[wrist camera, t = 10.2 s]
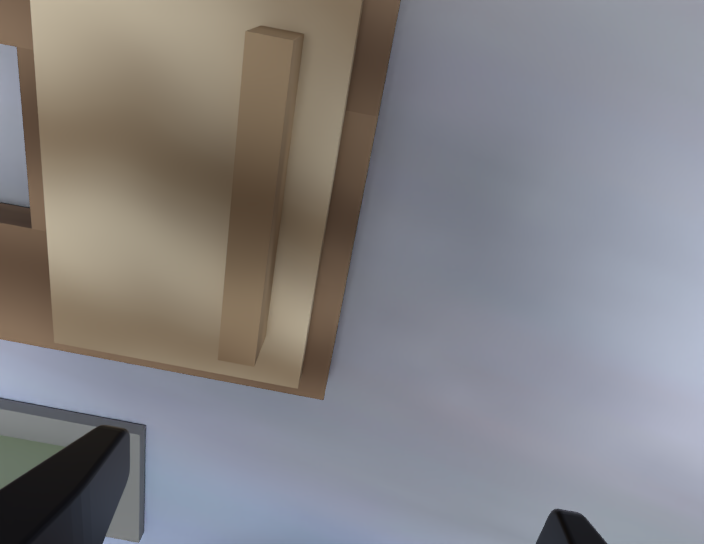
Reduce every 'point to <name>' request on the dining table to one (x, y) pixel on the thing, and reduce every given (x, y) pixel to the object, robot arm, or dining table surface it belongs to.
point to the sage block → (21, 457)
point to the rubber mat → (69, 428)
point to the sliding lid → (190, 174)
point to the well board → (347, 192)
